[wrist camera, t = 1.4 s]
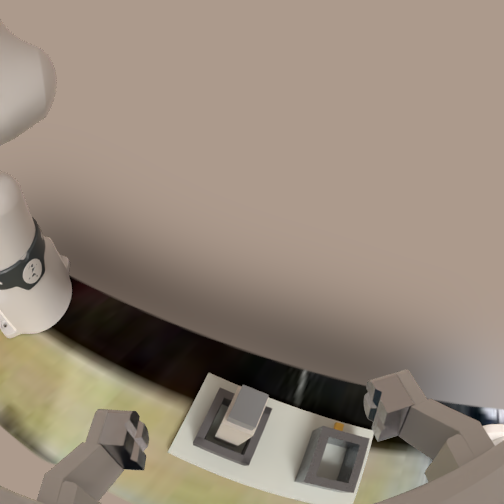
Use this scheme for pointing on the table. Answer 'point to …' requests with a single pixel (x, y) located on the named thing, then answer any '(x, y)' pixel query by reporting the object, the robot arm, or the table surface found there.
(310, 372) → the table surface
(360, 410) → the table surface
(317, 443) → the box
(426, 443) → the robot arm
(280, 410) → the panel
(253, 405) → the plug
